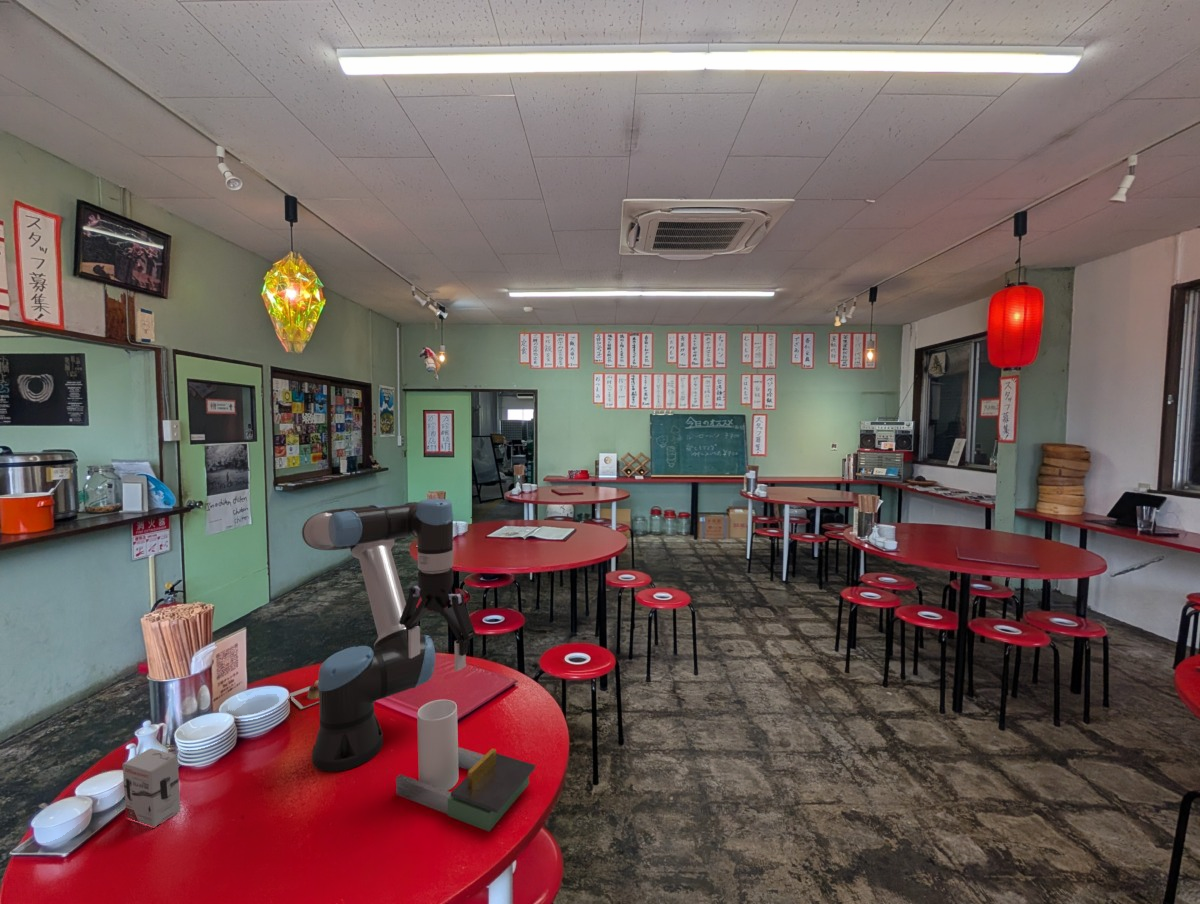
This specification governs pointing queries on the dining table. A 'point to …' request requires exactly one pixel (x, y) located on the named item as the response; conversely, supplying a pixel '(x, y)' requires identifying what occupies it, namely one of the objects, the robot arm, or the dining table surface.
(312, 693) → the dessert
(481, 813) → the green rectangular box
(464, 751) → the bracket
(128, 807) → the ink box
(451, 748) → the cup
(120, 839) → the dining table surface
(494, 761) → the cover
